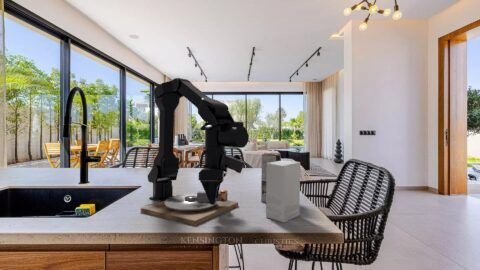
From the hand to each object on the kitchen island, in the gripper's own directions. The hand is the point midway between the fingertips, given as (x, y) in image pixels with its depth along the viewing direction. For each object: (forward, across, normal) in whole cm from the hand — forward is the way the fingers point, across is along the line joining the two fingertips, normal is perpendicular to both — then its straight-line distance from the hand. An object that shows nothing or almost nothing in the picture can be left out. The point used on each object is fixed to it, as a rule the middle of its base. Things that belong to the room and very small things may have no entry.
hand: (214, 200), depth 77 cm
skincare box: (+4, 0, -20) cm, 20 cm away
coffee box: (+4, +19, -18) cm, 26 cm away
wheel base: (+4, +6, +8) cm, 11 cm away
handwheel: (+2, +6, +6) cm, 9 cm away
